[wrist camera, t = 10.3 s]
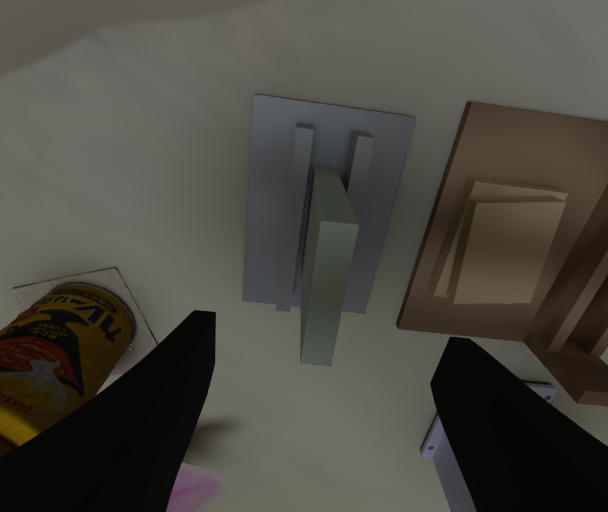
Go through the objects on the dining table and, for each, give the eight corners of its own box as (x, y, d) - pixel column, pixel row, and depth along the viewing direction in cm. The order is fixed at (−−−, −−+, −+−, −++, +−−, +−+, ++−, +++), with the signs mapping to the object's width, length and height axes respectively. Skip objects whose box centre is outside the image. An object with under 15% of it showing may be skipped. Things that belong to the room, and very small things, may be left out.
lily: (263, 413, 29) (201, 492, 19) (242, 540, 29) (173, 674, 20) (147, 376, 32) (45, 429, 22) (131, 492, 32) (26, 589, 23)
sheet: (320, 267, 20) (330, 365, 13) (301, 265, 20) (300, 363, 13) (336, 167, 18) (359, 224, 10) (313, 165, 17) (321, 220, 10)
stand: (363, 308, 22) (370, 333, 20) (243, 296, 22) (236, 320, 20) (413, 116, 17) (429, 120, 15) (254, 94, 16) (247, 95, 14)
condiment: (116, 266, 21) (-80, 456, 10) (169, 364, 25) (67, 578, 14) (12, 287, 21) (-275, 486, 11) (79, 379, 25) (-84, 594, 15)
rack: (587, 343, 24) (661, 411, 19) (396, 324, 23) (421, 389, 18) (725, 139, 17) (890, 160, 12) (467, 101, 17) (536, 108, 12)
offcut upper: (519, 293, 20) (530, 302, 19) (446, 294, 20) (453, 303, 19) (552, 196, 17) (566, 201, 16) (467, 197, 17) (476, 203, 16)
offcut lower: (503, 295, 21) (512, 304, 20) (427, 286, 21) (433, 295, 20) (555, 188, 18) (568, 193, 17) (466, 176, 18) (475, 181, 17)
